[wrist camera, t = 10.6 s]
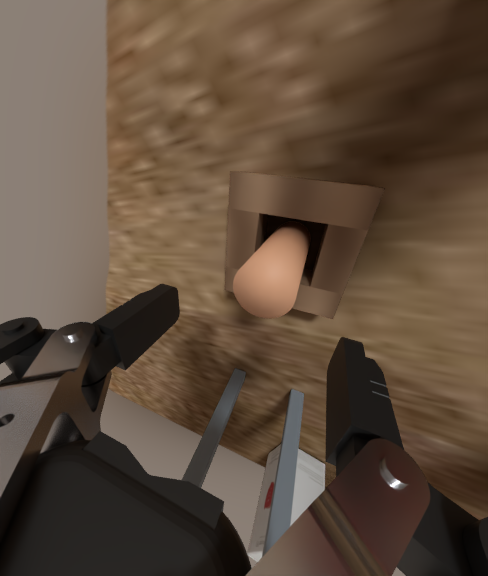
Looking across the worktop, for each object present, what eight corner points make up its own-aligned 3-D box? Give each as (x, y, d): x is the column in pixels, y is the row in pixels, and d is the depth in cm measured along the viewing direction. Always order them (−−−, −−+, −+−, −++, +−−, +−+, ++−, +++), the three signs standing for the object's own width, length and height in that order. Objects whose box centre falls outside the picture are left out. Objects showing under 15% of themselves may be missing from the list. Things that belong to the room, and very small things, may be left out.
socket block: (374, 186, 18) (385, 188, 15) (332, 299, 24) (332, 319, 21) (245, 171, 21) (230, 171, 18) (237, 276, 27) (224, 290, 24)
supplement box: (284, 438, 41) (266, 553, 28) (326, 463, 40) (326, 592, 28) (267, 453, 46) (245, 555, 34) (303, 475, 45) (294, 589, 33)
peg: (314, 224, 21) (303, 269, 11) (305, 260, 23) (288, 325, 13) (276, 218, 22) (234, 254, 12) (271, 253, 24) (231, 309, 14)
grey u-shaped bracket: (332, 321, 25) (354, 852, 5) (301, 400, 34) (265, 717, 14) (242, 296, 28) (42, 583, 8) (234, 375, 37) (126, 607, 17)
